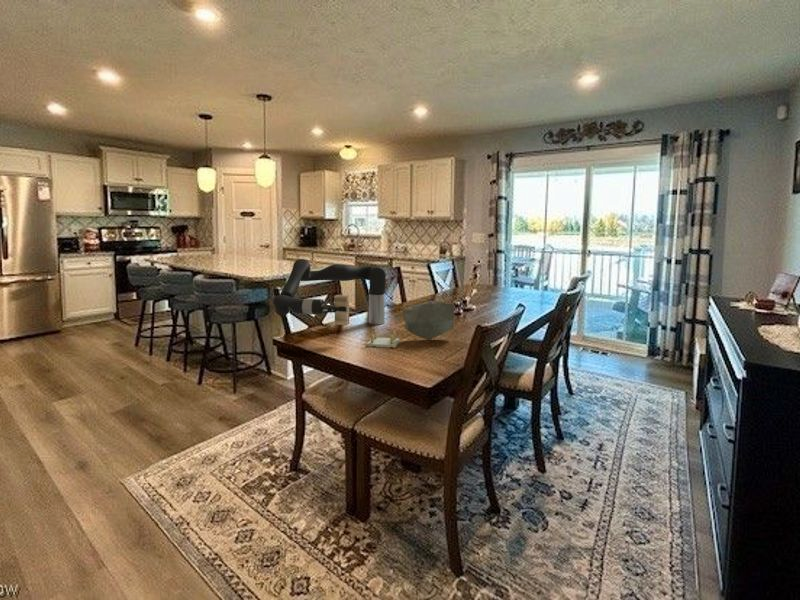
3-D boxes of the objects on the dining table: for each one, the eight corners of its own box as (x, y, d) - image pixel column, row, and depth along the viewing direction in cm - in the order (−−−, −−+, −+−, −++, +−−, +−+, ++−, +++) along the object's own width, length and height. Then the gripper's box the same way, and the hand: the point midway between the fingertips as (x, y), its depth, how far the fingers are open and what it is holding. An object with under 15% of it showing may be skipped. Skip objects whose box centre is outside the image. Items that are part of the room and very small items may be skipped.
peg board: (372, 339, 220) (372, 329, 219) (399, 340, 217) (399, 330, 216) (366, 346, 208) (366, 335, 207) (395, 347, 206) (395, 337, 205)
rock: (403, 342, 215) (403, 302, 212) (401, 338, 221) (401, 300, 218) (455, 340, 219) (456, 301, 215) (452, 337, 225) (453, 299, 221)
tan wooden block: (337, 322, 213) (336, 294, 211) (349, 323, 212) (348, 295, 210) (334, 324, 209) (334, 296, 207) (346, 325, 209) (346, 296, 206)
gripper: (307, 301, 204) (343, 303, 201) (318, 296, 218) (351, 297, 215) (308, 317, 205) (343, 319, 203) (318, 311, 219) (351, 312, 217)
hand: (347, 308), depth 209 cm, fingers closed on tan wooden block, 4 cm apart
